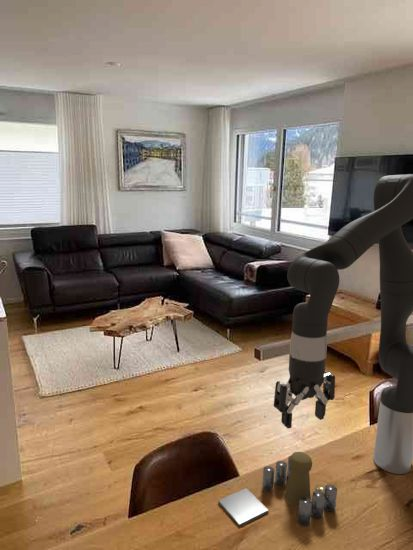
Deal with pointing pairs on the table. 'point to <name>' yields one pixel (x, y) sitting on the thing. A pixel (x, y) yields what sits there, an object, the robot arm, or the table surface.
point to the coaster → (243, 507)
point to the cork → (298, 478)
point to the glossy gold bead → (320, 488)
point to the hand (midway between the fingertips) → (303, 422)
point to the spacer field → (305, 504)
